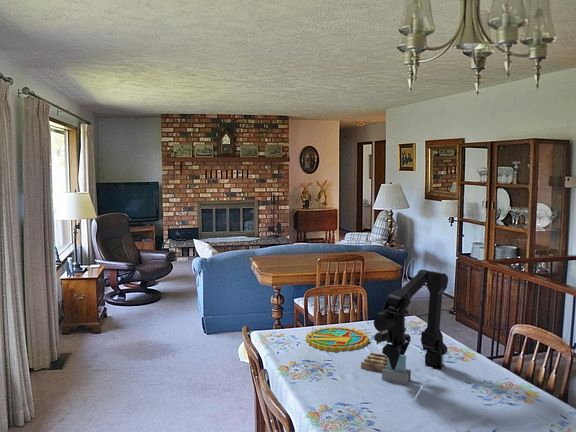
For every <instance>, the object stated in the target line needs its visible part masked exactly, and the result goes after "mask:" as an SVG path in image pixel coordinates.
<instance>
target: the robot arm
mask: <svg viewBox="0 0 576 432" xmlns="http://www.w3.org/2000/svg"><path fill="white" fill-rule="evenodd" d="M448 283H449V277H448V275H447V274H446V273H444V272H443V273H442V272H438V271H433V270H431V271H430V270H427V269H419V270H418V271H417V273H416V275H414V276H413V277H412V278H411V279H410V280H409V281H408V282H407V283H406V284H405V285H404V286H403V287H401V288H399V289H396V290H393V291H392V292H390V294H388V296H387V297H386V299H385V300H386V301H385V302H384V305H383V307H382V309H381V312H378V313H377V316H375V317H374V320H373V326H374V328H375V330H376V331H378V332H376V333H375V334H374V339H373V340H374V341H375V342H376V343H377V344H380V343H383V342H386V344H385V345H384V346H383V347H382V349H381V350H382V351H381V353H382V355H386V356H387V357H388V358H389V361H390V365H391V368H392V369H393V370H395V368H396V365H397V363H398V360H399V358H400V355H405V354H406V352H407V349H408V348H409V345H410V342H411V338H412V337H411V335H410V334H409V333H405V332H406V331H407V328H406V323H405V322H406V319H405V318H406V315H407V314H409V311H408V310H407V308H408V307H409V305H410V304H411V303H412V302H411V301H412V300H411V299H412V297H413V296H414V295H416V294H417V293H418V292H419V291H420V289H422V288H423V286H424V285H426V288H427V290H428V292H429V300H428V312H427V314H428V315H427V321H426V322H427V325H426V328H425V329H424V330H423V331H421V337H420V343H421V346H422V350H424V351H426V353H425V354H424V364H425V367H427V368H428V367H430V368H432V369H435V370H441V369H443V366H444V365H445V363H444V355H446V353H447V352H448V348H449V347H448V346H447V345H446V344H445V343H444V336H443V334H442V331H441V329H440V325H441V315H442V314H441V313H442V303H443V294H444V292H445V291H446V290H447V288H448V285H449V284H448Z"/></svg>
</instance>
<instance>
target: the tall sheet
mask: <svg viewBox="0 0 576 432" xmlns="http://www.w3.org/2000/svg"><path fill="white" fill-rule="evenodd" d="M406 369H407V355H405V354H404V355H400V358H399V360H398V363H397V365H396V368H395V370H393V369H392V368H391V365H390V361H389V358H388V357H387V370H392V371H398V372H403V373H406Z"/></svg>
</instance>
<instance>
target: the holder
mask: <svg viewBox="0 0 576 432" xmlns="http://www.w3.org/2000/svg"><path fill="white" fill-rule="evenodd" d="M411 379H412V369H409V368H406V373H403V372H398V371H392V370H387V365H386V366H385V369H382V372H381V380H382V381H386V382H393V383H397V384H402V385H409V383H410V381H412V380H411Z"/></svg>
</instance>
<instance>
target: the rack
mask: <svg viewBox="0 0 576 432" xmlns="http://www.w3.org/2000/svg"><path fill="white" fill-rule="evenodd" d="M371 355H373V356H378V357H384V358H385V362H384V365H377V364H372V363H371V360H370V356H371ZM386 365H387V356H386V355H384V354H383V353H382V354H380V353H375V352H370V353H369V355H367V357H366V358H364V360H363V361H361V362H360V367H359V369H363V370H369V371H373V372H379V373H382V369H385V366H386Z"/></svg>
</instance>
